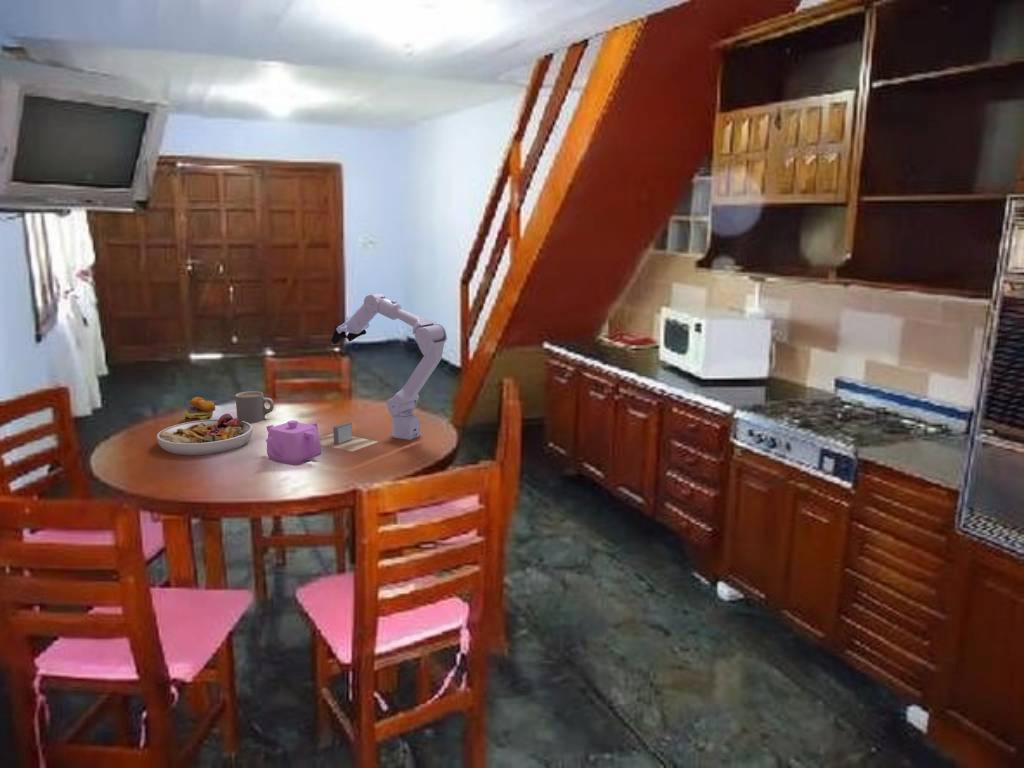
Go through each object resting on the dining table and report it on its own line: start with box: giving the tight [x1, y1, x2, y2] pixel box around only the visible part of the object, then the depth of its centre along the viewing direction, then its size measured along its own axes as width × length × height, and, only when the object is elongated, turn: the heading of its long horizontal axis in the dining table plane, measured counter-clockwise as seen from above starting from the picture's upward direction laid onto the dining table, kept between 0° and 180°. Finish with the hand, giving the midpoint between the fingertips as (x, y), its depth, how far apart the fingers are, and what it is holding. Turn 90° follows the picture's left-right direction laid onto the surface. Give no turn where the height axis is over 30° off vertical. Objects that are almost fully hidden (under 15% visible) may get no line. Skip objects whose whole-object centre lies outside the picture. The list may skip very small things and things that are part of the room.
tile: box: [332, 421, 353, 445], centre depth 253 cm, size 2×7×6 cm, turn 149°
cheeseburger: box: [182, 396, 216, 423], centre depth 283 cm, size 10×11×10 cm
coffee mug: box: [235, 390, 275, 424], centre depth 284 cm, size 13×10×10 cm
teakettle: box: [265, 420, 322, 466], centre depth 239 cm, size 17×17×12 cm
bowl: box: [156, 413, 253, 456], centre depth 253 cm, size 30×30×8 cm
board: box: [320, 433, 378, 453], centre depth 254 cm, size 20×13×1 cm, turn 59°
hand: (340, 340), depth 269 cm, fingers open, 7 cm apart
